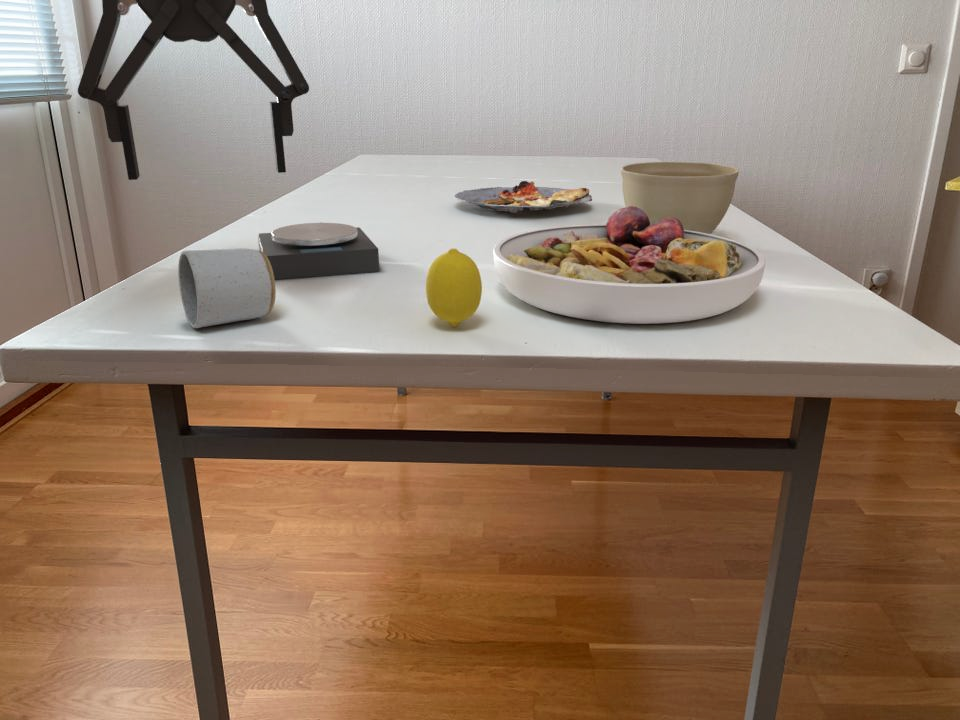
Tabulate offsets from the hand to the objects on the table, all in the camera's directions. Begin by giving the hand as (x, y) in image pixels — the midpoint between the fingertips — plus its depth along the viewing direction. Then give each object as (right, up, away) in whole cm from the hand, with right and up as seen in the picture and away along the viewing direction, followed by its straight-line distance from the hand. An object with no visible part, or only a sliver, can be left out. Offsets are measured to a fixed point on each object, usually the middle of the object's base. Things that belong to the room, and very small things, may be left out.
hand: (209, 174), depth 76 cm
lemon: (+24, -15, +3) cm, 28 cm away
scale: (+5, -5, +27) cm, 28 cm away
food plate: (+34, +10, +67) cm, 76 cm away
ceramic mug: (0, -14, +5) cm, 15 cm away
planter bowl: (+55, -1, +38) cm, 67 cm away
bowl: (+43, -10, +14) cm, 46 cm away
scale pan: (+5, -2, +26) cm, 27 cm away
